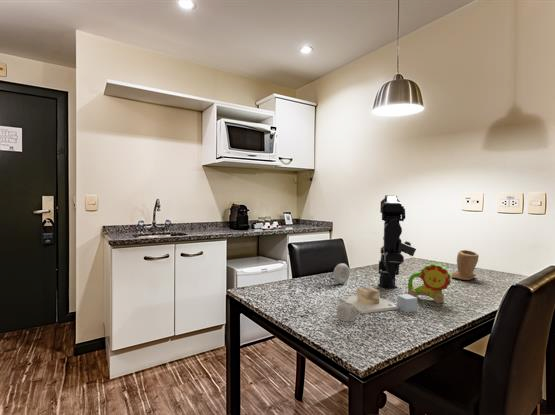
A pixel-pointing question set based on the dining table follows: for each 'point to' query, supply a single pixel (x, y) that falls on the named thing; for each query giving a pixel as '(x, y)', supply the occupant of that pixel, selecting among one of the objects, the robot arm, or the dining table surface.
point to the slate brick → (407, 303)
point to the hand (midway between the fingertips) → (390, 276)
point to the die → (346, 312)
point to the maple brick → (368, 295)
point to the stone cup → (466, 265)
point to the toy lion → (431, 282)
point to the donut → (338, 270)
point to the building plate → (364, 308)
